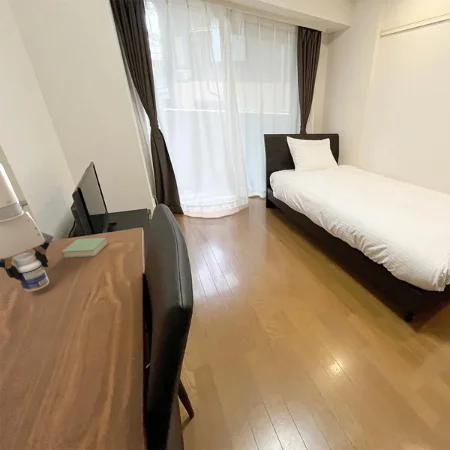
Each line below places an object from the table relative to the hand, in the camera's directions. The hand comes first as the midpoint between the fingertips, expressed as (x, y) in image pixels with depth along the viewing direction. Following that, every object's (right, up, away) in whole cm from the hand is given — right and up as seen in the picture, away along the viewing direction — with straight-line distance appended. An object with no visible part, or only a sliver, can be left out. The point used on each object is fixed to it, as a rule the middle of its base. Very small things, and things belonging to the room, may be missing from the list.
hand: (30, 271), depth 74 cm
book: (-3, +4, +23) cm, 24 cm away
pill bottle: (0, -5, +2) cm, 5 cm away
